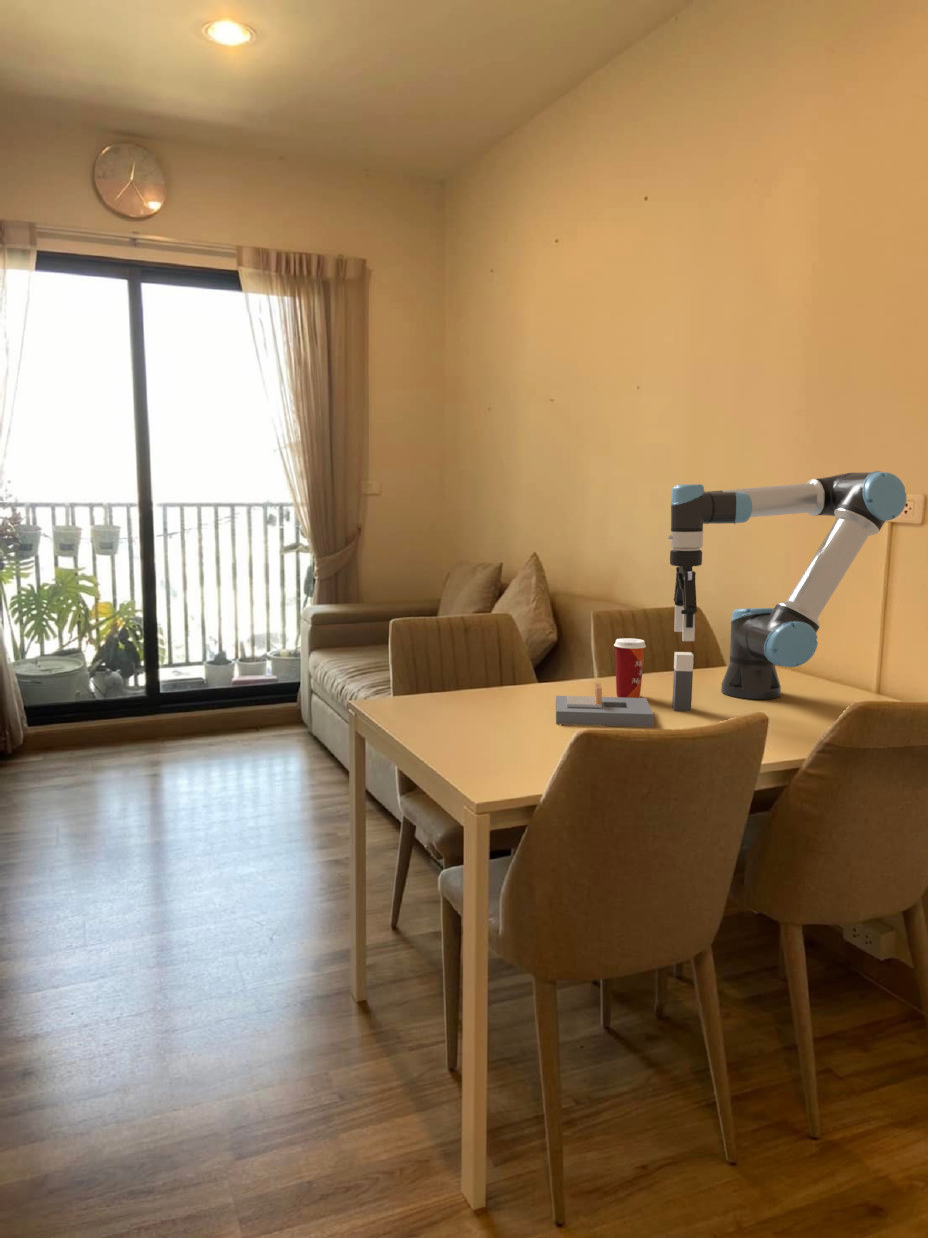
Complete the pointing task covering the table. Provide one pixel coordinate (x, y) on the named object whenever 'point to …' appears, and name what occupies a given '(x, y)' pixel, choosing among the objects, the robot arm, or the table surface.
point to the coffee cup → (629, 666)
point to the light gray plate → (586, 699)
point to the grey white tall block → (682, 681)
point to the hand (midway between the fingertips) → (684, 636)
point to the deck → (607, 712)
